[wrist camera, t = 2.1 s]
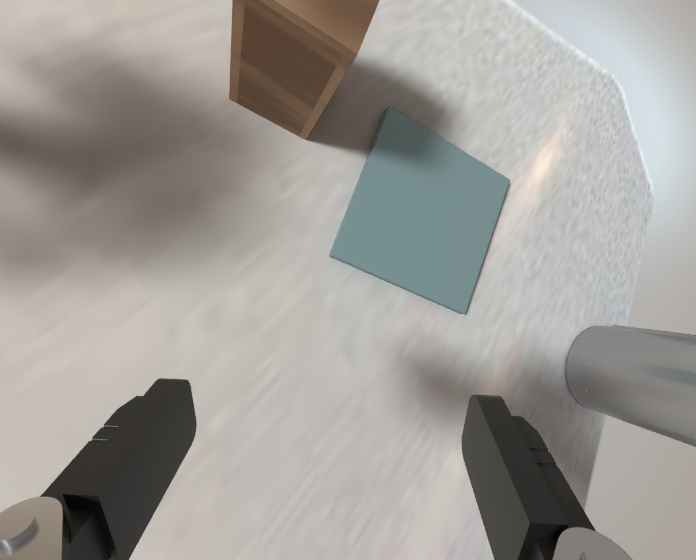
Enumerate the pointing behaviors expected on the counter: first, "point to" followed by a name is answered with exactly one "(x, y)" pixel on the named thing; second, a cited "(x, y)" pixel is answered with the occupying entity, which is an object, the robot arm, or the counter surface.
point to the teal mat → (421, 213)
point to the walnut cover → (294, 55)
